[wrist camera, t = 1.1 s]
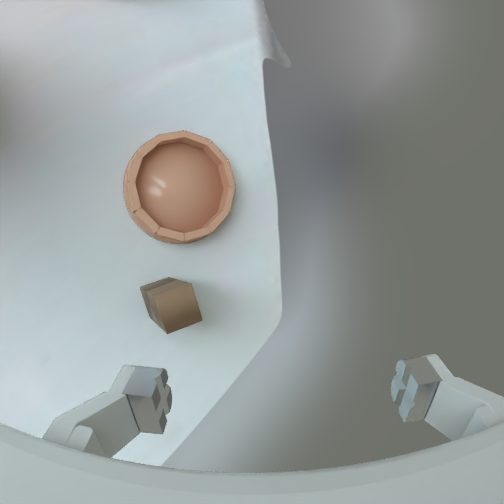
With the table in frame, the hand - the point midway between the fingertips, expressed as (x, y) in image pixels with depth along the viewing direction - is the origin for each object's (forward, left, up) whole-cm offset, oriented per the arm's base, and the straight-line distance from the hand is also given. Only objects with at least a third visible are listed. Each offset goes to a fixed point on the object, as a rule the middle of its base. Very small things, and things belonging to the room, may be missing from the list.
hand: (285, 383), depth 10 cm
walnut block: (+3, +3, -35) cm, 36 cm away
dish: (-11, +10, -35) cm, 38 cm away
